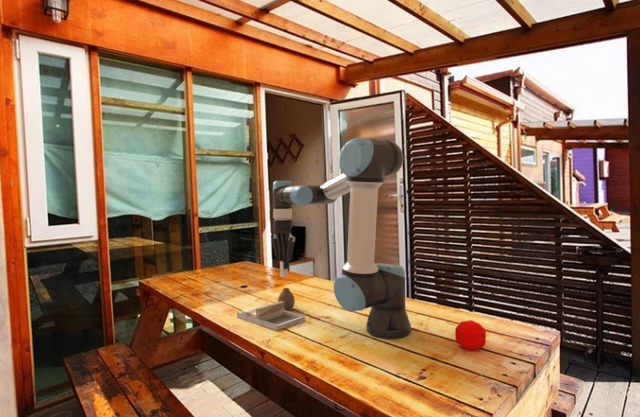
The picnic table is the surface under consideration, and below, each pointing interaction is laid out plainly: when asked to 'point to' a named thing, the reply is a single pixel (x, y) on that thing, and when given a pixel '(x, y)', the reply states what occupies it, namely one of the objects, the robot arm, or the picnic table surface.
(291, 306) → the vase
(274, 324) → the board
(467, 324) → the ball
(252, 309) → the cover
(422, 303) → the picnic table surface
